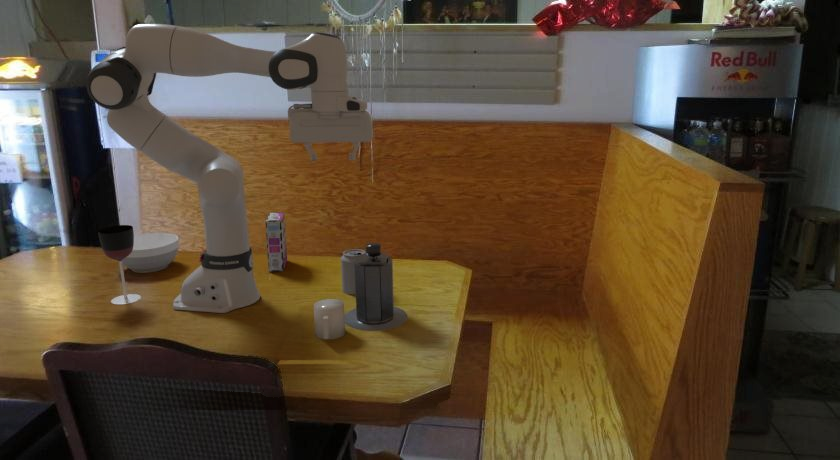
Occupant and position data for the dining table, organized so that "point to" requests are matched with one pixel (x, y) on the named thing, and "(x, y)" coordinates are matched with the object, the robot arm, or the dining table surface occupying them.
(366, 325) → the coaster
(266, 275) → the dining table surface
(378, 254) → the plunger
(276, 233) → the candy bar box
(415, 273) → the dining table surface
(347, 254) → the can
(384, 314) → the carafe
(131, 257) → the bowl
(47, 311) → the dining table surface
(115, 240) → the wineglass
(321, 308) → the white rounded cylinder
